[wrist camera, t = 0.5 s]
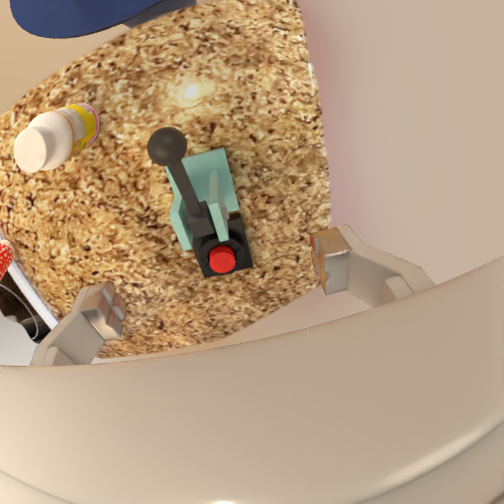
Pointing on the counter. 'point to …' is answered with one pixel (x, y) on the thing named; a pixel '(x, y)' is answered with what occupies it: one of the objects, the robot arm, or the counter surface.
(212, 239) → the control block
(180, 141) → the switch lever
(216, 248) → the button
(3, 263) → the beverage cup
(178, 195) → the switch bracket
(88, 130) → the supplement bottle
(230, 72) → the counter surface
